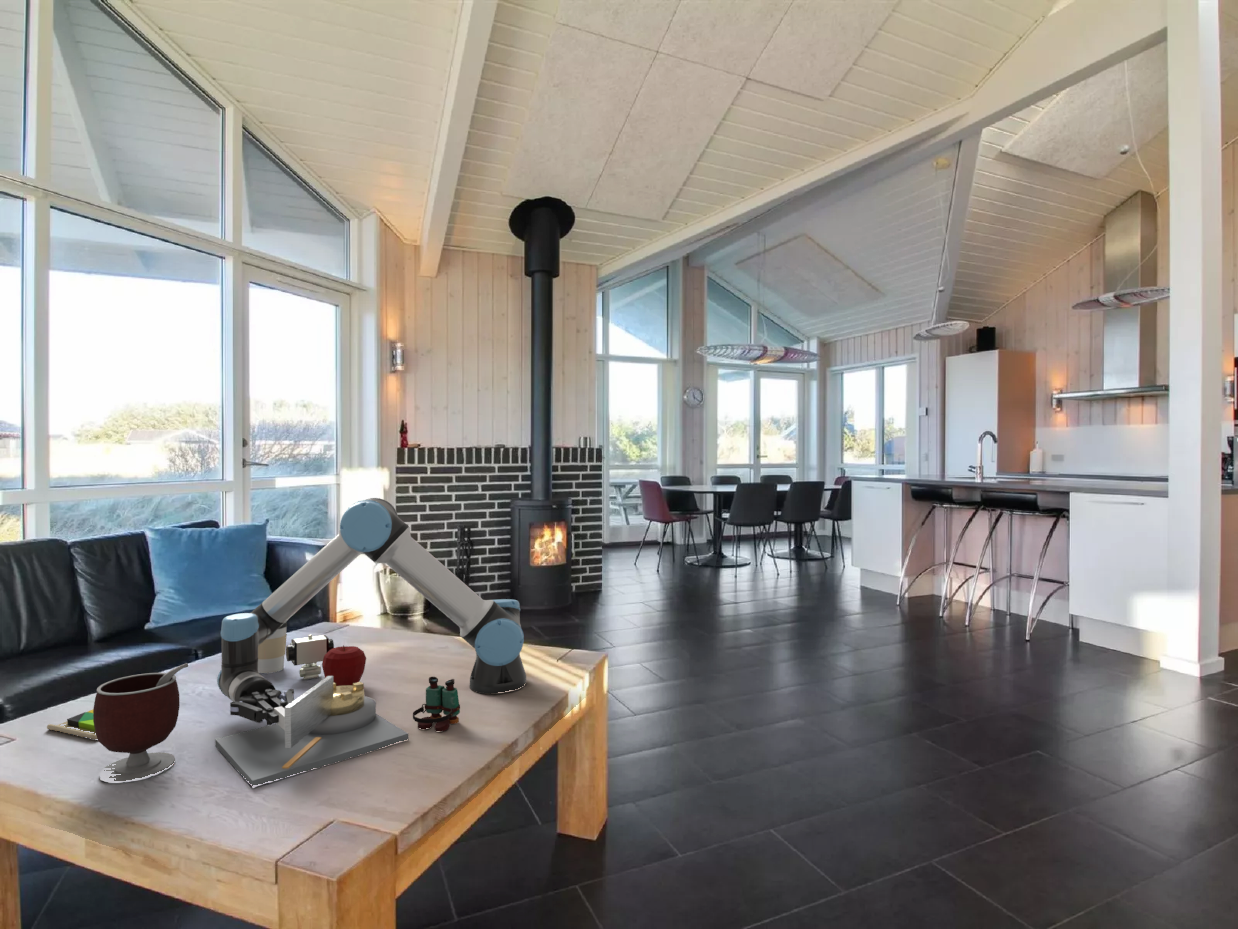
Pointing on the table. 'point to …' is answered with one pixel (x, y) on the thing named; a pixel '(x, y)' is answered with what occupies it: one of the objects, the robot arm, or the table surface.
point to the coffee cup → (272, 651)
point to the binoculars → (439, 706)
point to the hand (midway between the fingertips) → (288, 722)
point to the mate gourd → (137, 720)
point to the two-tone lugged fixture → (320, 707)
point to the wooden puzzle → (77, 725)
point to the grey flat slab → (308, 744)
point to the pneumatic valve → (309, 654)
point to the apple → (344, 665)
